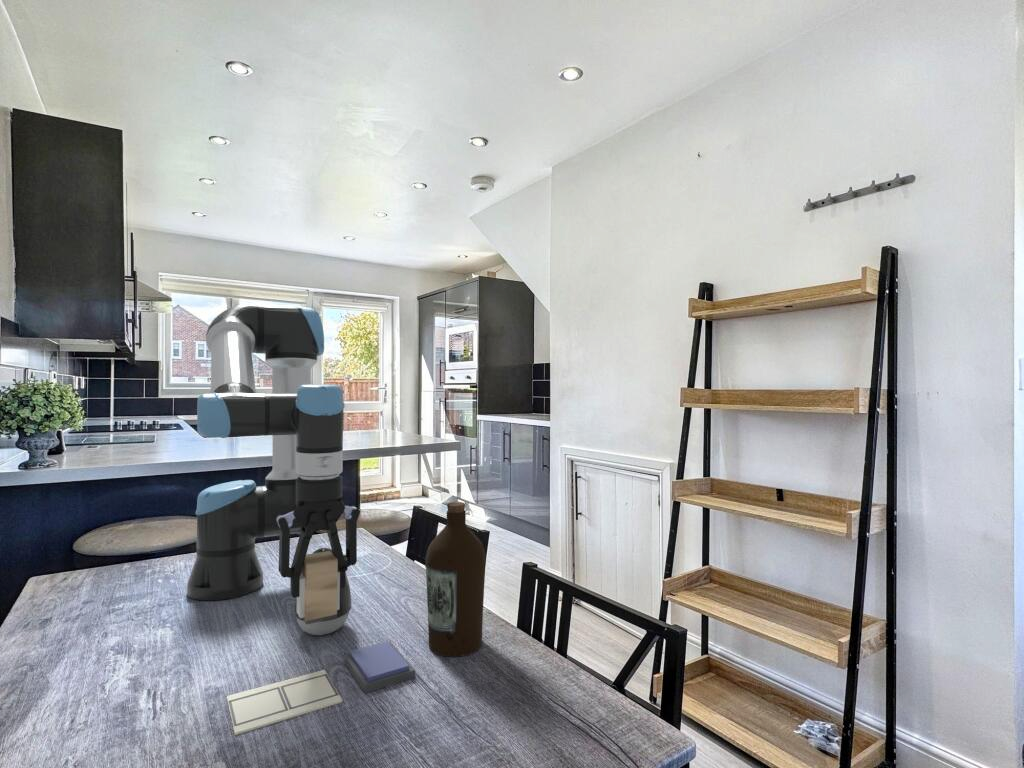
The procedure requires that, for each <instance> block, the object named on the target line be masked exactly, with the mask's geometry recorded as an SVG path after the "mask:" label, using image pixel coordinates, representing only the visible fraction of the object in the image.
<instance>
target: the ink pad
mask: <svg viewBox="0 0 1024 768" xmlns="http://www.w3.org/2000/svg"><path fill="white" fill-rule="evenodd" d="M343 663H344V664H345V666H346V667H347V669H349V671H350V673H351V674H352V676H353V677H354V679H355V680H356V682H357V684H358V685H359V686H360V688H361V689H362V691H363V692H364V693H365V694H367V693H369V692H370V693H371V692H373V691H376V690H379V689H383V688H386V687H390V686H392V685H396V684H399V683H402V682H405V681H409V680H412V679H415V678H416V669H415V668H414V667H413V666H412V665H411V663H409V662H408V660H407V658H405V657H404V656H403V654H401V652H400V651H399V650H398V649H397V648H396V647H395V646H394V644H393V643H391V642H389V641H384V642H383V641H382V642H380V643H376V644H371V645H368V646H365V647H360V648H357V649H353V650H349V652H347V653H344V654H343Z"/></svg>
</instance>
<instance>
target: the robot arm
mask: <svg viewBox="0 0 1024 768" xmlns="http://www.w3.org/2000/svg"><path fill="white" fill-rule="evenodd" d="M323 328H324V327H323V322H322V319H321V316H320V314H319V312H318V311H317V310H316V309H315V308H312V307H307V306H306V307H305V306H299V305H286V304H285V305H284V304H282V305H280V304H266V303H265V304H264V303H254V302H253V303H251V302H250V303H242V304H236V305H234V306H232V307H229V308H227V309H225V310H224V311H222V312H220V314H218V315H217V316H215V318H213V319H212V321H211V323H210V324H209V326H208V327H207V330H206V334H205V335H206V337H205V341H206V347H207V350H209V352H210V357H211V358H210V393H203V394H201V395H199V397H197V405H196V406H197V407H196V408H197V409H196V411H197V412H196V415H197V416H196V418H197V420H196V421H197V422H196V426H197V427H196V428H197V429H196V430H197V433H198V435H200V436H201V437H204V438H221V439H226V438H238V437H239V438H240V437H261V436H265V437H266V436H272V469H271V471H270V472H269V473H268V474H267V476H266V477H265V479H264V481H265V482H264V483H265V485H259V486H257V483H256V482H255V481H254V480H252V479H244V480H243V479H239V480H233V481H229V482H228V481H227V482H223V483H218V484H215V485H212V486H209V487H207V488H205V489H203V490H202V491H201V492H199V493H198V495H197V499H196V500H197V501H196V503H197V504H196V510H195V515H196V555H195V557H196V558H195V560H194V563H193V566H192V568H191V571H190V575H189V578H188V580H187V584H186V595H187V597H189V598H190V599H194V600H197V601H222V600H228V599H233V598H237V597H241V596H244V595H247V594H251V593H252V592H255V591H256V590H259V588H261V587H262V586H263V585H264V571H263V569H262V565H261V563H260V560H259V558H258V556H257V553H256V539H260V538H268V537H275V536H277V537H279V539H278V540H279V541H278V572H279V574H280V576H281V577H282V578H290V579H289V580H290V581H289V583H290V584H289V585H290V586H289V587H290V588H289V589H290V591H289V592H290V595H291V596H292V598H293V599H295V598H296V597H297V614H298V615H299V617H300V618H303V617H305V578H304V576H303V575H302V573H301V572H302V568H303V565H304V561H305V557H306V555H307V554H308V550H309V546H310V542H311V539H312V538H313V534H314V533H317V532H318V531H326V533H327V537H328V541H329V544H330V545H329V546H330V547H331V548H330V549H332V553H333V555H334V556H335V557H336V558H337V559H338V571H337V610H339V609H340V588H344V587H345V574H347V571H348V568H349V567H350V566H355V565H356V564H357V563H358V562H357V561H358V560H357V559H358V556H357V555H358V552H357V551H358V545H357V543H358V542H357V539H358V538H357V535H358V533H357V531H358V530H357V527H358V526H357V523H358V519H359V517H360V513H361V510H360V509H359V508H357V507H356V506H355V505H351V506H349V505H345V502H344V499H343V487H344V486H343V482H344V481H343V480H344V479H343V476H342V475H341V474H342V472H343V471H344V470H343V464H344V463H343V461H344V460H343V452H344V451H343V448H344V447H343V446H344V445H343V443H344V442H343V441H344V408H345V402H344V390H343V388H342V387H341V386H340V385H338V384H334V385H333V384H311V381H312V380H311V379H312V374H311V373H312V372H311V371H312V368H313V367H314V366H315V365H316V364H317V363H318V357H319V356H322V355H323V354H324V351H325V334H324V332H325V331H324V329H323ZM253 354H263V355H265V356H264V357H265V358H264V362H265V363H266V364H267V365H268V366H270V368H271V370H272V374H271V376H272V378H271V379H272V381H271V383H272V384H271V385H272V387H271V388H272V391H271V392H272V393H257V391H256V381H255V374H254V364H253V363H254V362H253V356H252V355H253ZM342 515H343V517H344V518H345V554H344V552H343V548H342V544H341V540H340V538H339V537H340V536H339V534H338V533H339V530H338V527H337V522H338V520H340V517H341V516H342ZM292 534H293V535H294V534H297V535H299V538H298V541H297V544H296V548H295V550H294V555H293V559H292V562H291V566H290V559H291V558H290V555H291V554H290V552H291V551H290V550H291V549H290V548H291V547H290V546H291V535H292ZM344 555H346V557H345V558H344Z"/></svg>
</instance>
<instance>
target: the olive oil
mask: <svg viewBox="0 0 1024 768" xmlns="http://www.w3.org/2000/svg"><path fill="white" fill-rule="evenodd" d="M446 505H447V510H446V525H445V526H444V527H443V528H442V530H440V532H439V533H438V534H437V535H436V536H435V537H434V538H433V540H432V541H431V542H430V544H429V546H428V548H427V552H426V556H425V563H424V566H425V575H426V576H425V578H426V579H425V580H426V598H427V599H426V603H427V622H428V623H427V625H428V626H427V627H428V630H427V631H428V634H427V635H428V647H429V649H430V650H431V652H433V653H434V654H436V655H439V656H443V657H451V658H453V657H455V658H456V657H462V656H468V655H470V654H473V653H476V651H478V650H479V649H480V648H481V646H482V644H483V622H484V621H483V619H484V618H483V617H484V616H483V615H484V599H485V598H484V596H485V581H486V580H485V579H486V564H487V557H486V552H485V548H484V545H483V542H482V541H481V540H480V538H479V537H477V535H476V534H475V533H474V532H473V531H472V530H471V529H470V528H469V527H468V525H467V523H466V521H467V520H466V517H467V511H466V510H465V509H466V503H465V502H462V501H451V502H448V503H447V504H446Z"/></svg>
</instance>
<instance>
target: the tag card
mask: <svg viewBox="0 0 1024 768" xmlns="http://www.w3.org/2000/svg"><path fill="white" fill-rule="evenodd" d="M226 701H227V707H228V710H229V715H230V720H231V725H232V728H233V733H234V736H237V735H240V734H243V733H246V732H250V731H254V730H257V729H259V728H263V727H267V726H269V725H272V724H276V723H279V722H283V721H285V720H289V719H292V718H296V717H298V716H302V715H305V714H308V713H312V712H314V711H318V710H322V709H325V708H328V707H330V706H335V705H337V704H341V703H343V698H342V696H341V695H340V694H339V692H338V690H337V688H336V687H335V685H334V683H333V682H332V680H331V678H330V676H329V674H328V673H327V671H326V669H322V670H318V671H314V672H310V673H307V674H303V675H300V676H295V677H293V678H289V679H285V680H280V681H278V682H273V683H269V684H266V685H264V686H259V687H256V688H252V689H251V688H250V689H248V690H244V691H240V692H237V693H233V694H229V695H227V696H226Z"/></svg>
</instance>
